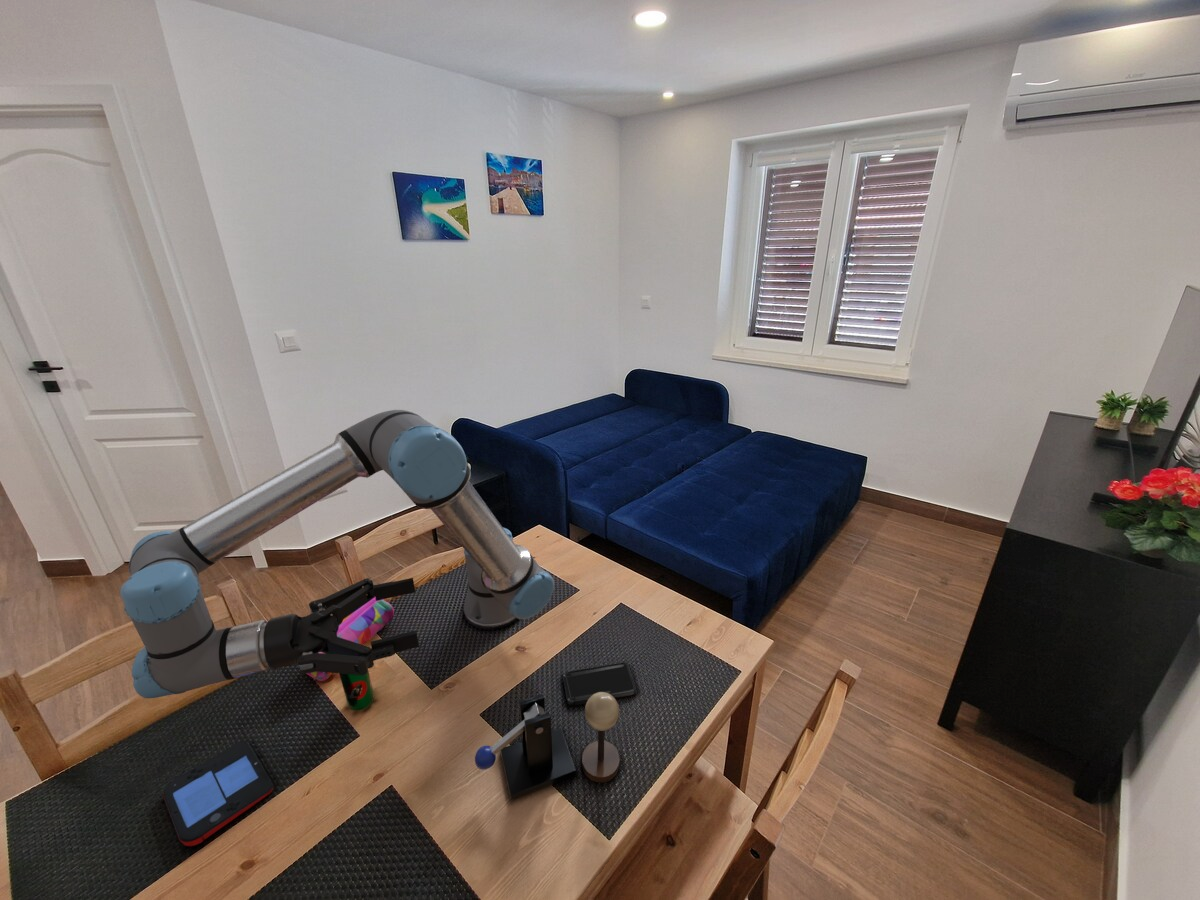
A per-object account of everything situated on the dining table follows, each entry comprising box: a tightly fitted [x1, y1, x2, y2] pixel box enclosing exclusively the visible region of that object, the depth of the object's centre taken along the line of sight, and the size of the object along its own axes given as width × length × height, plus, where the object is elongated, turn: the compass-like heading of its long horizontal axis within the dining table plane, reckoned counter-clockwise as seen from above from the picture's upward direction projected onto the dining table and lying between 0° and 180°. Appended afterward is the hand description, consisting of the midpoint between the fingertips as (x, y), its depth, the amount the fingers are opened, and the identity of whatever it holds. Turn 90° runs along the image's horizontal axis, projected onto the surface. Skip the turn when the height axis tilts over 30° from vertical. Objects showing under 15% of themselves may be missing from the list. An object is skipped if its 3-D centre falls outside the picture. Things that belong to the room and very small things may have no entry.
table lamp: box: [581, 692, 621, 784], centre depth 87 cm, size 7×7×17 cm
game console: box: [162, 739, 275, 847], centre depth 84 cm, size 14×13×2 cm
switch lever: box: [474, 703, 546, 771], centre depth 84 cm, size 14×4×4 cm
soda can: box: [338, 665, 375, 712], centre depth 99 cm, size 5×5×12 cm
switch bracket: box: [500, 693, 577, 801], centre depth 87 cm, size 12×9×15 cm
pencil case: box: [306, 598, 395, 682], centre depth 112 cm, size 22×9×9 cm, turn 160°
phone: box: [562, 662, 637, 707], centre depth 106 cm, size 8×1×15 cm
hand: (416, 609), depth 82 cm, fingers open, 13 cm apart
